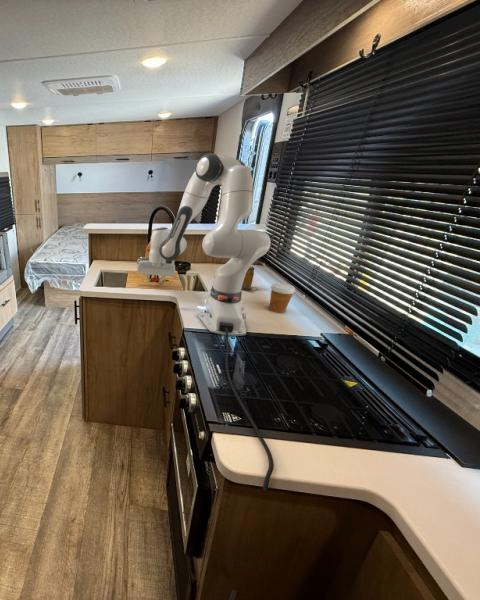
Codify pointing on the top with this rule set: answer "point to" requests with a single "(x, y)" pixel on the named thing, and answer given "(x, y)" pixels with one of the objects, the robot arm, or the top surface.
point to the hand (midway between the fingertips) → (154, 282)
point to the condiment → (248, 280)
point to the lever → (155, 278)
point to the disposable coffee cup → (280, 296)
